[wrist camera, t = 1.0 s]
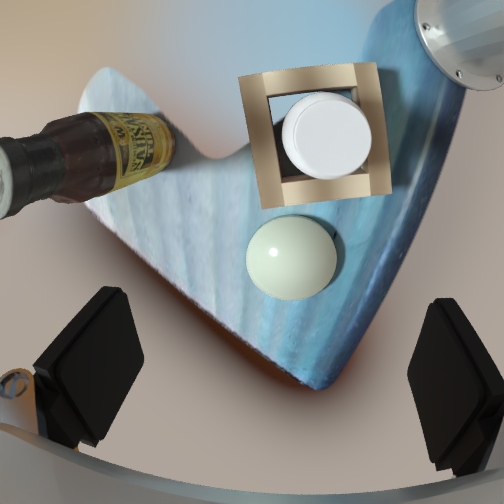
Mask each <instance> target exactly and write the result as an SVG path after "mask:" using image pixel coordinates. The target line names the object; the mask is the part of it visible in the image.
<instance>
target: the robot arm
mask: <svg viewBox="0 0 504 504" xmlns="http://www.w3.org/2000/svg"><path fill="white" fill-rule="evenodd" d="M414 21H415V25H416V30H417V33H418V36H419V38H420V41H421V43H422V45H423V47H424V49H425V51H426V53H427V54H428V55H429V57H430V58H431V60H432V61H433V63H434V64H435V65H436V66H437V67H438V68H439V69H440V70H441V71H442V72H443V73H444V74H445V75H446V76H447V77H449V78H450V79H451V80H453V81H454V82H456V83H457V84H459V85H461V86H463V87H466V88H468V89H471V90H476V91H488V90H494V89H496V88H499V87H501V86H502V85H503V84H504V0H416V3H415V8H414ZM423 27H424V28H425V29H424V28H423ZM456 74H457V76H456ZM143 363H144V354H143V351H142V348H141V344H140V341H139V338H138V334H137V331H136V327H135V324H134V320H133V316H132V312H131V309H130V305H129V302H128V298H127V294H126V293H124V292H123V291H122V289H121V288H119V287H109V286H104V287H102V288H101V289H100V290H99V291H98V292H97V293H96V294H95V295H94V296H93V297H92V298H91V299H90V301H89V302H88V303H87V304H86V305H85V306H84V307H83V308H82V309H81V311H79V313H78V314H77V315H76V316H75V317H74V318H73V319H72V320H71V321H70V322H69V323H68V325H67V326H66V327H65V328H64V329H63V330H62V331H61V333H60V334H59V335H58V336H57V337H56V338H55V339H54V341H53V342H52V343H51V344H50V345H49V346H48V348H47V349H46V350H45V351H44V352H43V354H42V355H41V356H40V357H39V358H38V359H37V360H36V362H35V363H34V364H33V367H34V369H35V371H36V373H35V374H34V375H32V373H31V372H30V371H28V370H26V369H22V368H18V369H13V370H10V371H8V372H6V373H5V374H3V375H2V376H1V377H0V504H504V380H503V378H502V376H501V374H500V372H499V370H498V368H497V367H496V365H495V363H494V361H493V360H492V358H491V356H490V354H489V353H488V351H487V349H486V348H485V346H484V344H483V343H482V341H481V339H480V338H479V336H478V335H477V333H476V331H475V330H474V328H473V327H472V325H471V323H470V322H469V320H468V319H467V317H466V316H465V314H464V313H463V311H462V310H461V308H460V307H459V305H458V304H457V302H456V301H455V300H454V299H453V298H437V299H435V300H434V302H433V303H430V305H429V306H428V309H427V312H426V316H425V319H424V323H423V326H422V329H421V332H420V335H419V338H418V341H417V344H416V347H415V350H414V353H413V356H412V358H411V361H410V364H409V367H408V371H407V372H408V373H407V376H408V381H409V383H410V387H411V391H412V394H413V397H414V401H415V404H416V408H417V411H418V415H419V419H420V422H421V426H422V430H423V434H424V438H425V442H426V446H427V450H428V454H429V459H430V461H431V462H432V463H435V466H436V471H441V470H446V469H450V468H452V471H453V477H452V478H451V479H449V480H445V481H440V482H435V483H429V484H424V485H418V486H412V487H406V488H399V489H392V490H384V491H376V492H365V493H352V494H329V495H292V494H269V493H257V492H246V491H237V490H229V489H221V488H215V487H208V486H202V485H196V484H191V483H186V482H181V481H176V480H171V479H167V478H162V477H158V476H154V475H151V474H147V473H143V472H139V471H136V470H132V469H129V468H125V467H122V466H119V465H116V464H112V463H109V462H106V461H103V460H100V459H98V458H95V457H92V456H89V455H86V454H84V453H81V452H79V450H78V444H79V442H80V441H81V442H82V443H84V444H87V445H89V446H92V447H96V446H97V444H98V442H99V440H100V441H101V440H103V439H104V438H105V436H106V434H107V432H108V430H109V428H110V426H111V424H112V422H113V420H114V419H115V417H116V415H117V413H118V411H119V409H120V407H121V405H122V403H123V401H124V399H125V398H126V396H127V394H128V392H129V390H130V388H131V386H132V385H133V383H134V381H135V379H136V377H137V375H138V373H139V372H140V370H141V368H142V366H143Z"/></svg>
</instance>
